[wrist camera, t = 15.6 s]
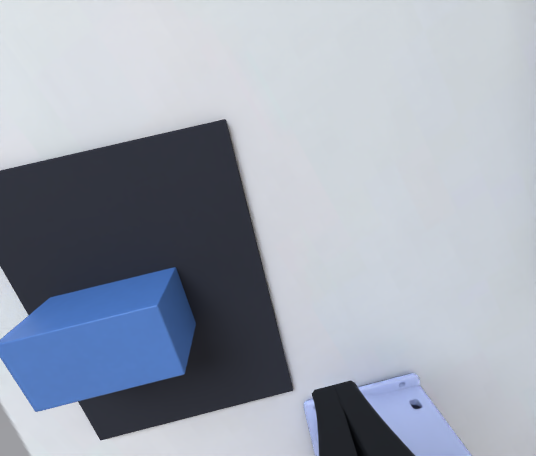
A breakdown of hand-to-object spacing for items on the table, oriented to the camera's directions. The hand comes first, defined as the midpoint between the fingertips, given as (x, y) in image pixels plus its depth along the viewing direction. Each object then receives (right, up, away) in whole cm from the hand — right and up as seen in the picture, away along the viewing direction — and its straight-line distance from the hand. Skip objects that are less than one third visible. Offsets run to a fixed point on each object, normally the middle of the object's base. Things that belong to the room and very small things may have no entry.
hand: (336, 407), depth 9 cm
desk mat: (-10, +1, +10) cm, 14 cm away
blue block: (-7, +1, +7) cm, 10 cm away
